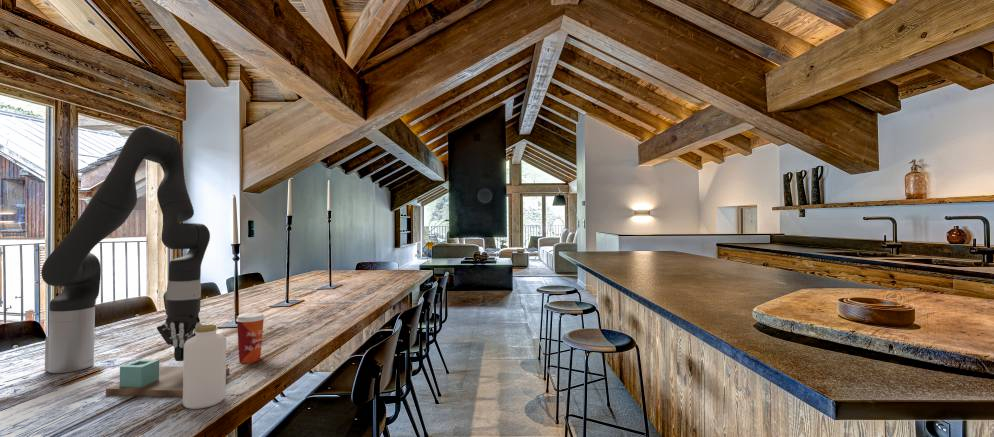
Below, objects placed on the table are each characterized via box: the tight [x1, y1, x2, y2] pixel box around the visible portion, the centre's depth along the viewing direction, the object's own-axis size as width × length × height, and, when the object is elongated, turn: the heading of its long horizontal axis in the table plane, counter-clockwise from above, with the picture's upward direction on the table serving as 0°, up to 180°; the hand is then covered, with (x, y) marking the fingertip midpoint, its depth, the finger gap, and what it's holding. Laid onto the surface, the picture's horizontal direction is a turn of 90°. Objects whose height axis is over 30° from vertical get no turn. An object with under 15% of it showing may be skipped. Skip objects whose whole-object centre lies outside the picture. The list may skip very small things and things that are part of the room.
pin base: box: [105, 364, 230, 398], centre depth 110 cm, size 20×16×6 cm
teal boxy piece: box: [119, 359, 160, 387], centre depth 106 cm, size 5×5×5 cm
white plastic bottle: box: [182, 324, 227, 410], centre depth 98 cm, size 8×8×18 cm
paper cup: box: [235, 312, 266, 364], centre depth 129 cm, size 8×8×14 cm
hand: (181, 360), depth 113 cm, fingers closed
